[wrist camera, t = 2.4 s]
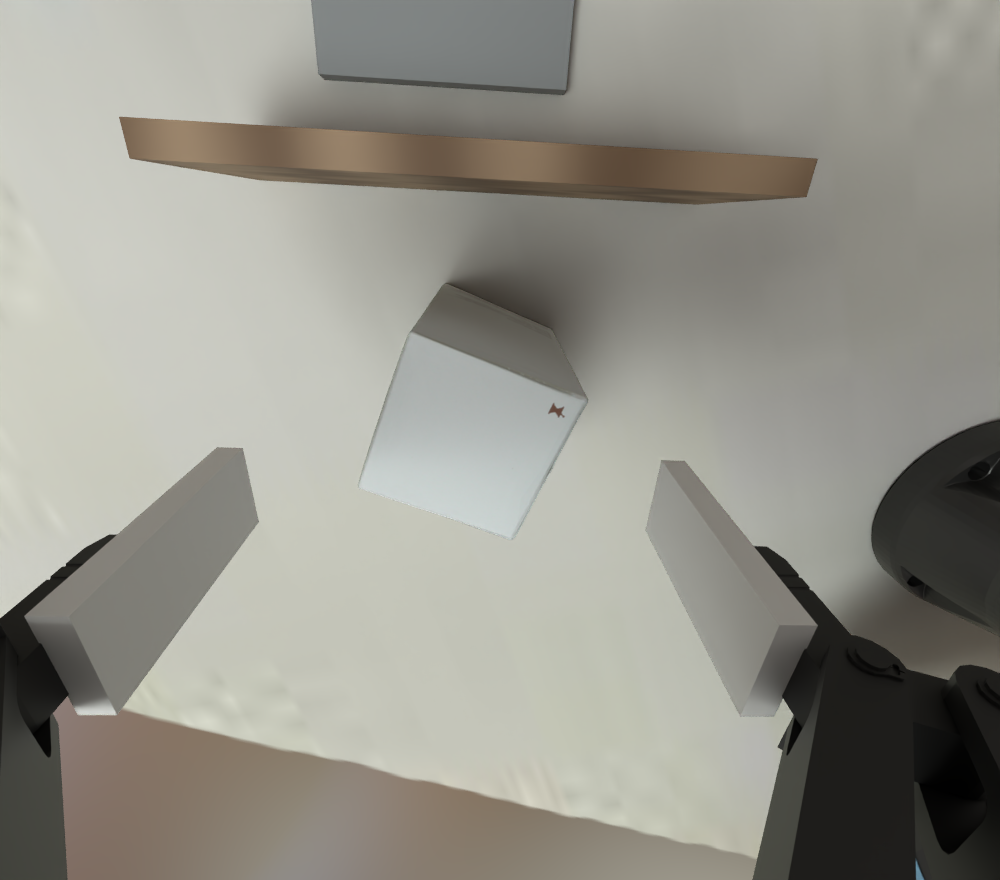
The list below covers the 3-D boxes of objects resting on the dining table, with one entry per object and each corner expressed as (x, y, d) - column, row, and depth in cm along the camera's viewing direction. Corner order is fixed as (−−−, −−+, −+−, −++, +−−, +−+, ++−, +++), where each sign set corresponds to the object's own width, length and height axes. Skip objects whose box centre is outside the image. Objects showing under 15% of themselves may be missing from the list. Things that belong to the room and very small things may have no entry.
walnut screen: (701, 179, 25) (817, 158, 16) (696, 204, 26) (806, 197, 17) (255, 154, 25) (119, 116, 15) (259, 180, 25) (129, 158, 16)
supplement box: (443, 278, 27) (409, 322, 16) (555, 328, 29) (597, 400, 17) (403, 388, 30) (350, 490, 19) (507, 428, 32) (516, 546, 20)
